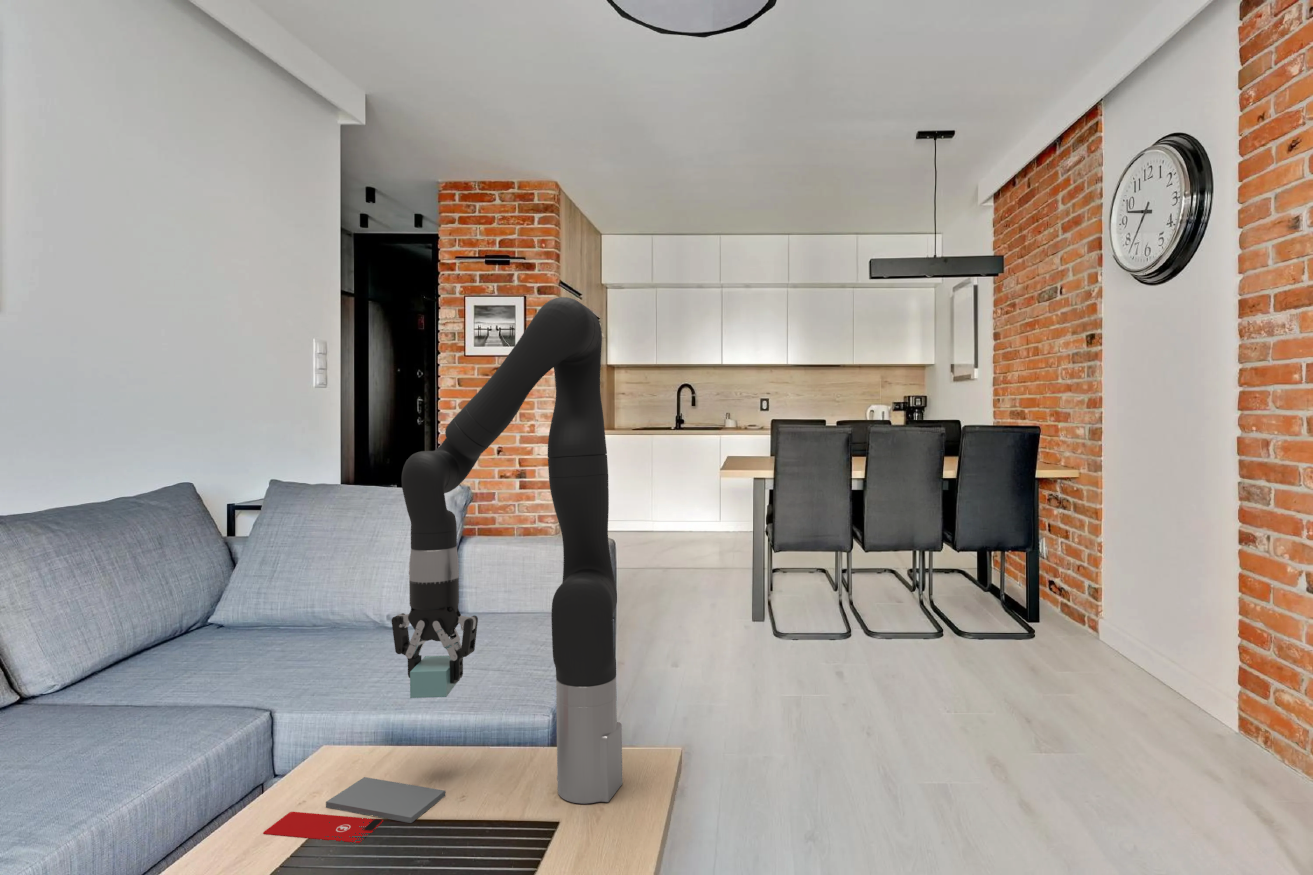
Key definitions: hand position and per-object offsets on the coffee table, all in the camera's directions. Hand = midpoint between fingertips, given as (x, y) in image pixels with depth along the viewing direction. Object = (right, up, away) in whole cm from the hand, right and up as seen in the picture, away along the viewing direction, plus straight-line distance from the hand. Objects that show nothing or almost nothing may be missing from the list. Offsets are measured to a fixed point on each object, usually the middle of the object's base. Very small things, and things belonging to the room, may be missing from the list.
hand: (435, 680), depth 111 cm
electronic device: (-11, -16, -14) cm, 24 cm away
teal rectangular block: (0, -1, 0) cm, 1 cm away
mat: (-5, -16, -7) cm, 18 cm away
